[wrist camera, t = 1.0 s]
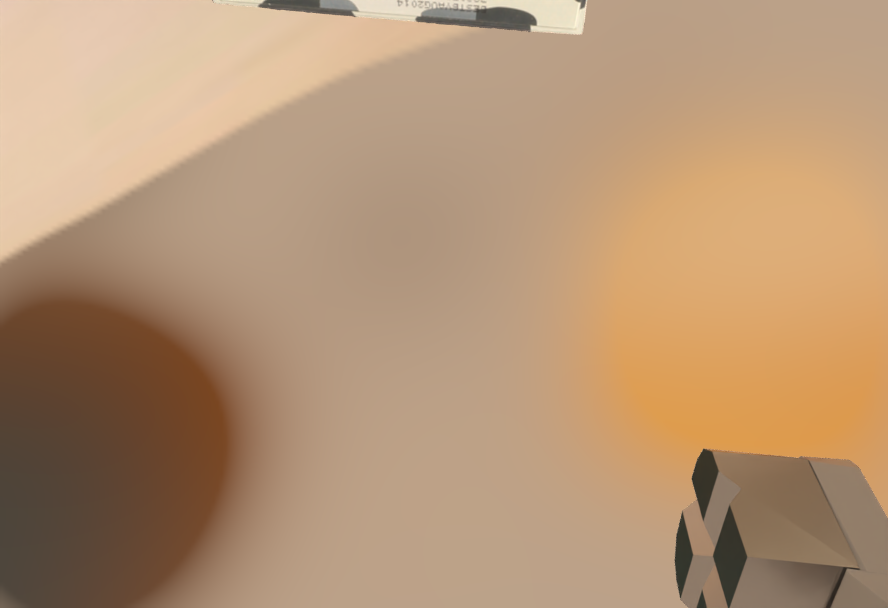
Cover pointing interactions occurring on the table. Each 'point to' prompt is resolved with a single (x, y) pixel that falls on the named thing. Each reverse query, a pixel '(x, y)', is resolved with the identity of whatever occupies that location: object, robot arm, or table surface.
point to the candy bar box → (449, 12)
